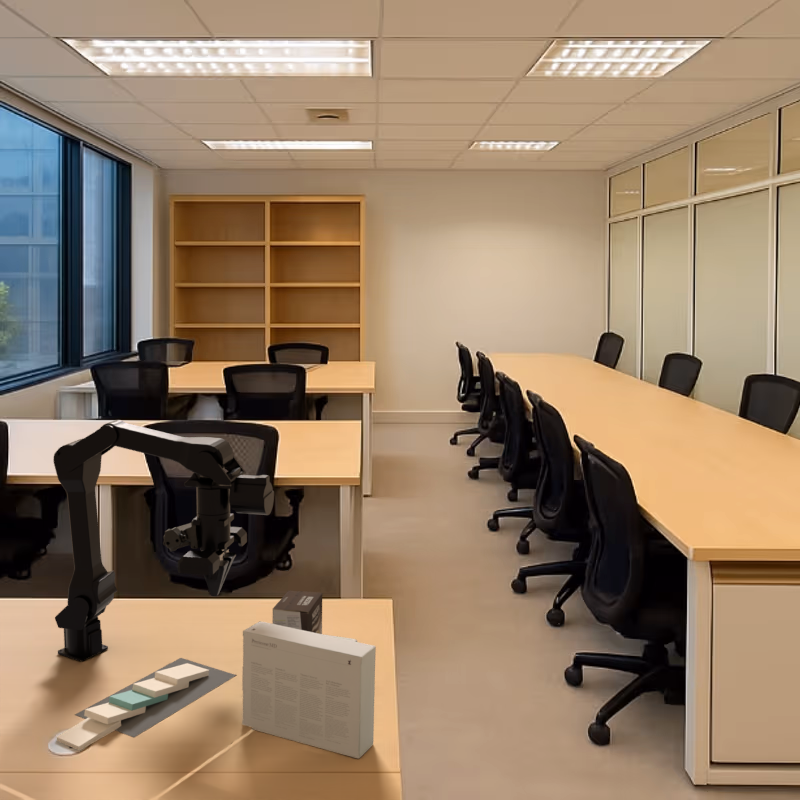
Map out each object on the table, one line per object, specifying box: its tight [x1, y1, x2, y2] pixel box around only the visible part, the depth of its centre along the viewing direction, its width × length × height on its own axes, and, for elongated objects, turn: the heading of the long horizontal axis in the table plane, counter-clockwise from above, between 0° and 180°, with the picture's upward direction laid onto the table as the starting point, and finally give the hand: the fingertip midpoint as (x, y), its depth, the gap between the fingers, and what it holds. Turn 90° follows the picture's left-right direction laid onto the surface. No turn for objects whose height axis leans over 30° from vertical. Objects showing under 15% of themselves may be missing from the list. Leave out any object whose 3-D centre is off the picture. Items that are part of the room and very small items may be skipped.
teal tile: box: [109, 690, 168, 711], centre depth 144 cm, size 5×1×8 cm
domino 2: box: [84, 703, 146, 724], centre depth 140 cm, size 5×1×8 cm
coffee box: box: [272, 590, 323, 634], centre depth 150 cm, size 9×6×16 cm
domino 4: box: [154, 663, 209, 685], centre depth 153 cm, size 5×1×8 cm
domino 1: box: [55, 717, 121, 751], centre depth 136 cm, size 5×1×8 cm
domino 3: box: [132, 678, 189, 698], centre depth 149 cm, size 5×1×8 cm
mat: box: [74, 657, 237, 738], centre depth 149 cm, size 13×24×1 cm, turn 151°
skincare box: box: [241, 621, 377, 759], centre depth 136 cm, size 21×5×16 cm, turn 65°
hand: (214, 595), depth 159 cm, fingers closed
